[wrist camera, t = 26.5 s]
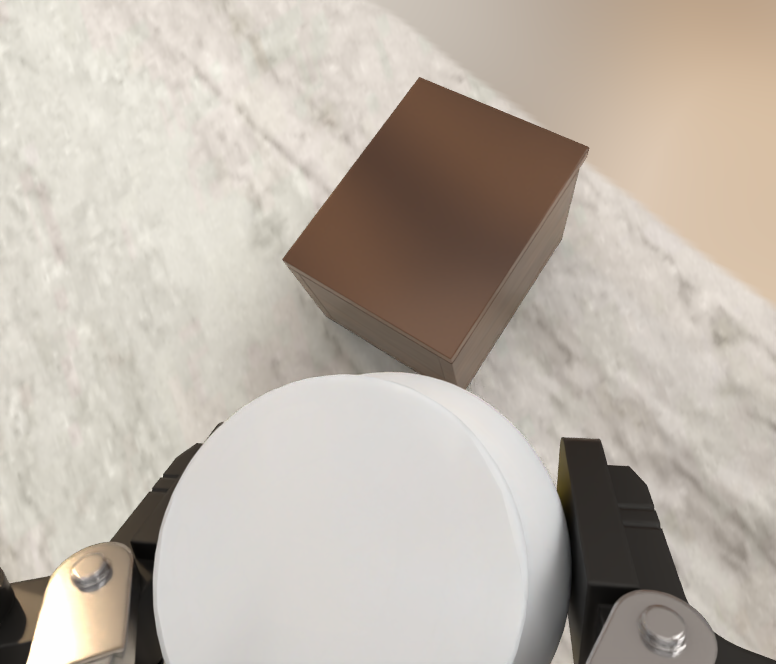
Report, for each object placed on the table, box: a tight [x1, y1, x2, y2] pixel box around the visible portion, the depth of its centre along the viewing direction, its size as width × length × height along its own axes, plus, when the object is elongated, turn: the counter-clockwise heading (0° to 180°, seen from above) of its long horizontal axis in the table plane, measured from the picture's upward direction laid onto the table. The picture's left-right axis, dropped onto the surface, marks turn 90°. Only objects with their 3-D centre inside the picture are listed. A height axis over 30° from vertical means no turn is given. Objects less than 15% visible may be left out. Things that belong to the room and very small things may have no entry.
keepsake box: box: [288, 170, 579, 390], centre depth 34 cm, size 13×11×8 cm
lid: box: [282, 77, 589, 363], centre depth 30 cm, size 13×11×1 cm
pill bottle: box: [153, 372, 572, 664], centre depth 12 cm, size 6×6×12 cm
